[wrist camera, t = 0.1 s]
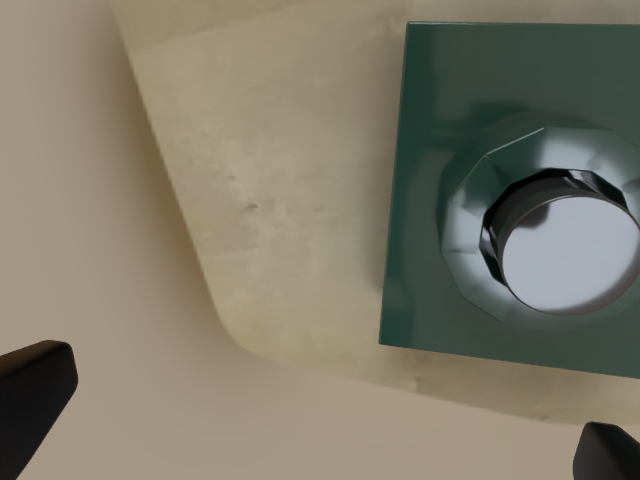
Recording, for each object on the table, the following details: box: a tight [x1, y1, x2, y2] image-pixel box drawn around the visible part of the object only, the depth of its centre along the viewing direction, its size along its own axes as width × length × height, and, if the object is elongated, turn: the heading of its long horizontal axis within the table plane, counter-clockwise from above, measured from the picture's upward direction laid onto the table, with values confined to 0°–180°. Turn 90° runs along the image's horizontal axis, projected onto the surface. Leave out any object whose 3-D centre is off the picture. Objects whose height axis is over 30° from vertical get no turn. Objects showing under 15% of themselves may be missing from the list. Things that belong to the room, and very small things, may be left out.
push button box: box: [379, 21, 640, 379], centre depth 17 cm, size 12×10×6 cm
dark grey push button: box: [489, 177, 640, 316], centre depth 13 cm, size 4×4×2 cm
